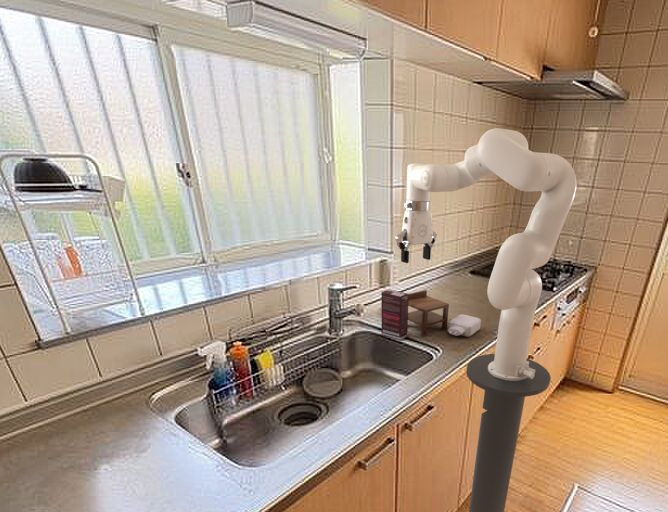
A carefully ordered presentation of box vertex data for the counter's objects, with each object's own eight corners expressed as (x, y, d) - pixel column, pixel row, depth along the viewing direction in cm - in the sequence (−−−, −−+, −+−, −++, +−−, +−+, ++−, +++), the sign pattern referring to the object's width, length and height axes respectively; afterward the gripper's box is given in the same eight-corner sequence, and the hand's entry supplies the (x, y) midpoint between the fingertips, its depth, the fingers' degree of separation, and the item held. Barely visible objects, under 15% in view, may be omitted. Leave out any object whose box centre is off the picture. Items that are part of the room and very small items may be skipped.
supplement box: (408, 336, 151) (409, 293, 143) (400, 340, 147) (401, 296, 140) (388, 330, 154) (388, 288, 147) (380, 334, 151) (380, 291, 143)
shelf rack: (446, 329, 159) (449, 298, 154) (423, 336, 151) (425, 304, 146) (423, 319, 167) (425, 290, 162) (400, 325, 159) (401, 295, 154)
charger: (439, 336, 152) (458, 324, 164) (462, 343, 148) (480, 330, 160) (440, 324, 150) (459, 313, 161) (463, 330, 146) (481, 318, 158)
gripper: (404, 209, 125) (403, 266, 133) (445, 207, 136) (442, 260, 144) (389, 206, 130) (388, 261, 138) (429, 204, 141) (427, 255, 149)
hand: (415, 260), depth 141 cm, fingers open, 9 cm apart
